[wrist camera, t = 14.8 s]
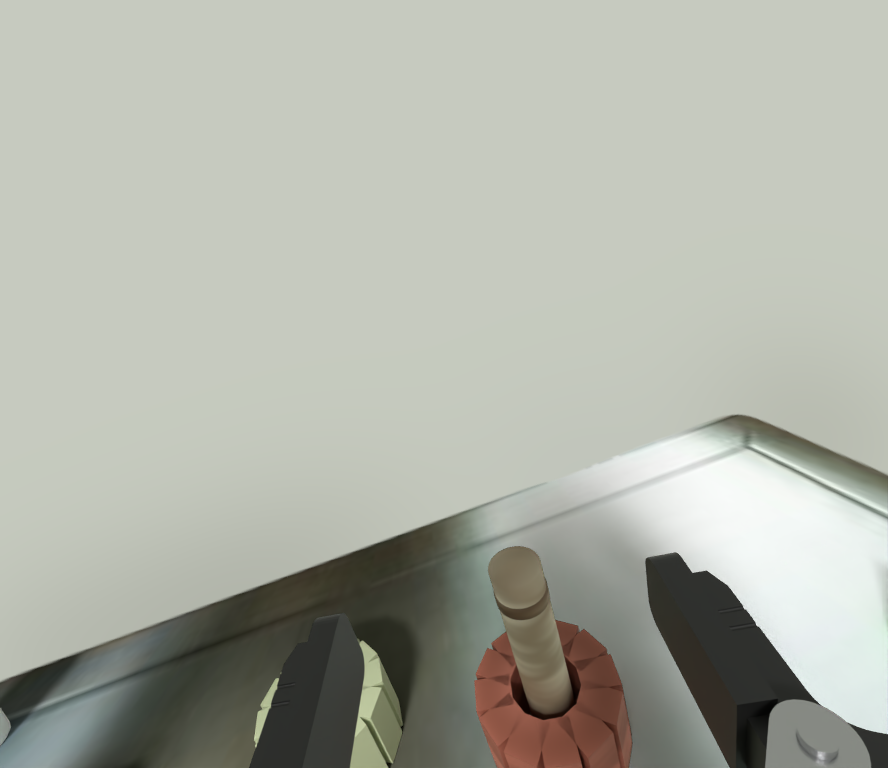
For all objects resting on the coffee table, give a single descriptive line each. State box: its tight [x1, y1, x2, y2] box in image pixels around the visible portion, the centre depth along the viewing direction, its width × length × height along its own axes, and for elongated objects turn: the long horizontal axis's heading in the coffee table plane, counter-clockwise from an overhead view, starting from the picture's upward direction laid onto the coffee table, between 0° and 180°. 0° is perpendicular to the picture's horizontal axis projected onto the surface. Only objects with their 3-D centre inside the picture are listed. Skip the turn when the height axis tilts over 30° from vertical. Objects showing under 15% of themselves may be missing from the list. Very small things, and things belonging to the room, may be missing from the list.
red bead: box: [475, 620, 632, 768], centre depth 30 cm, size 9×9×5 cm
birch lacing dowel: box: [488, 546, 576, 720], centre depth 28 cm, size 3×3×15 cm
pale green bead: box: [254, 639, 403, 768], centre depth 33 cm, size 9×9×5 cm
